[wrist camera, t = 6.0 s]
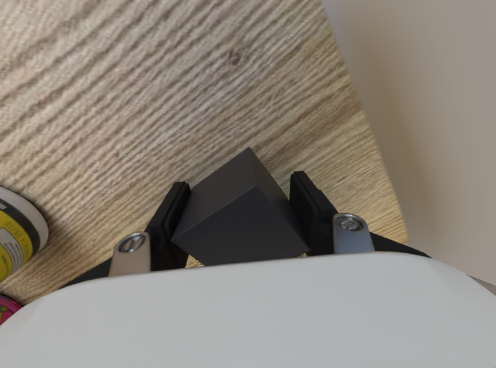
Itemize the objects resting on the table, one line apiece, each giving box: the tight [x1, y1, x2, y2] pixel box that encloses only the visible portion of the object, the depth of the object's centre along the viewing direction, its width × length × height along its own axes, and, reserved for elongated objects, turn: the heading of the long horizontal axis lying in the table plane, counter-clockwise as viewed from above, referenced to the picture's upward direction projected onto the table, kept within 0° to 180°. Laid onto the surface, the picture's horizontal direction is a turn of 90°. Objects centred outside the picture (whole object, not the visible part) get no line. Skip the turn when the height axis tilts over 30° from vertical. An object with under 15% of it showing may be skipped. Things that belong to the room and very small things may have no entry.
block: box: [171, 147, 311, 266], centre depth 10 cm, size 4×4×4 cm
